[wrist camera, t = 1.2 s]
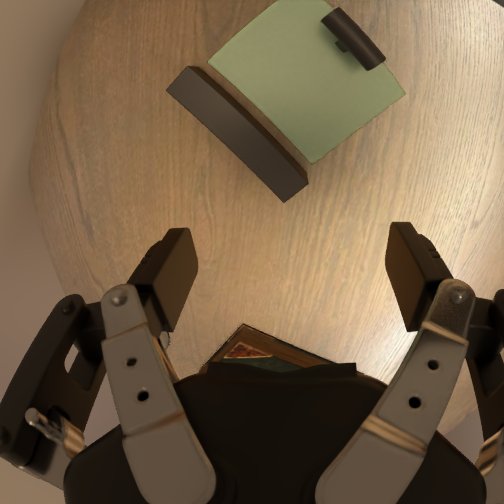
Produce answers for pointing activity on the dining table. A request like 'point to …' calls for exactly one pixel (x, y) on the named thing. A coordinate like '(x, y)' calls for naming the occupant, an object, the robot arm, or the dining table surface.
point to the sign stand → (239, 131)
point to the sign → (309, 73)
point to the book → (263, 352)
